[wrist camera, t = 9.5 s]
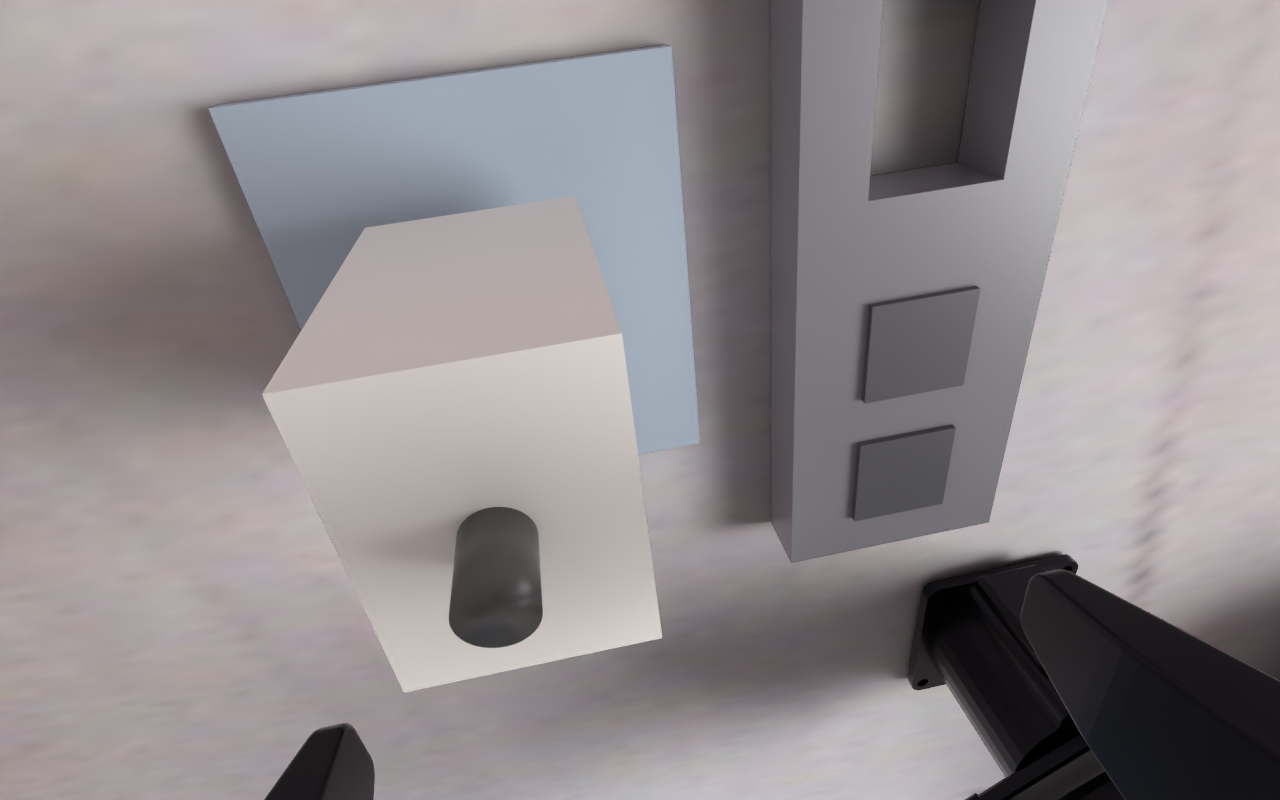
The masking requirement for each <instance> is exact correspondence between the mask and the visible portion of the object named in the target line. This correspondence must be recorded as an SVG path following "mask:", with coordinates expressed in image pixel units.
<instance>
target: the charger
mask: <svg viewBox="0 0 1280 800" xmlns="http://www.w3.org/2000/svg"><path fill="white" fill-rule="evenodd" d="M262 396H263V399H264V401H265V403H266V405H267V407H268V409H269V411H270V413H271V415H272V417H273V419H274V422H275V424H276V426H277V428H278V430H279V432H280V434H281V436H282V438H283V440H284V442H285V445H286V447H287V449H288V451H289V453H290V455H291V457H292V459H293V461H294V463H295V466H296V468H297V470H298V472H299V474H300V476H301V478H302V480H303V482H304V484H305V486H306V489H307V491H308V493H309V495H310V497H311V499H312V501H313V503H314V505H315V507H316V509H317V512H318V514H319V516H320V518H321V520H322V522H323V524H324V526H325V528H326V530H327V533H328V535H329V537H330V539H331V541H332V543H333V545H334V547H335V549H336V551H337V553H338V556H339V558H340V560H341V562H342V564H343V566H344V568H345V570H346V572H347V574H348V576H349V579H350V581H351V583H352V585H353V587H354V589H355V591H356V593H357V595H358V597H359V599H360V602H361V604H362V606H363V608H364V610H365V612H366V614H367V616H368V618H369V620H370V623H371V625H372V627H373V629H374V631H375V633H376V635H377V637H378V639H379V641H380V643H381V646H382V648H383V650H384V652H385V654H386V656H387V658H388V660H389V662H390V664H391V666H392V669H393V671H394V673H395V675H396V677H397V679H398V681H399V683H400V685H401V687H402V690H403V692H404V693H405V692H410V691H415V690H420V689H424V688H429V687H434V686H438V685H443V684H448V683H453V682H457V681H462V680H467V679H472V678H476V677H481V676H486V675H490V674H495V673H500V672H505V671H509V670H514V669H519V668H524V667H528V666H533V665H538V664H542V663H547V662H552V661H557V660H561V659H566V658H571V657H576V656H580V655H585V654H590V653H594V652H599V651H604V650H609V649H613V648H618V647H623V646H628V645H632V644H637V643H642V642H646V641H651V640H656V639H661V638H662V631H661V623H660V616H659V608H658V601H657V593H656V586H655V578H654V571H653V563H652V555H651V548H650V540H649V533H648V525H647V518H646V510H645V503H644V495H643V487H642V480H641V472H640V465H639V457H638V450H637V442H636V435H635V427H634V419H633V412H632V404H631V397H630V389H629V382H628V374H627V367H626V359H625V351H624V344H623V336H622V332H621V329H620V326H619V323H618V320H617V317H616V314H615V311H614V308H613V305H612V302H611V299H610V296H609V293H608V290H607V287H606V284H605V281H604V278H603V275H602V272H601V269H600V266H599V263H598V260H597V257H596V254H595V251H594V248H593V245H592V242H591V239H590V237H589V234H588V231H587V228H586V225H585V222H584V219H583V216H582V213H581V210H580V207H579V204H578V201H577V198H576V196H571V197H565V198H558V199H551V200H545V201H538V202H531V203H525V204H518V205H512V206H505V207H498V208H492V209H485V210H479V211H472V212H465V213H459V214H452V215H445V216H439V217H432V218H426V219H419V220H412V221H406V222H399V223H393V224H386V225H379V226H373V227H366V228H364V230H363V232H362V233H361V235H360V237H359V238H358V240H357V241H356V243H355V245H354V246H353V248H352V249H351V251H350V253H349V254H348V256H347V258H346V259H345V261H344V262H343V264H342V266H341V267H340V269H339V270H338V272H337V274H336V275H335V277H334V279H333V280H332V282H331V283H330V285H329V287H328V288H327V290H326V291H325V293H324V295H323V296H322V298H321V300H320V301H319V303H318V304H317V306H316V308H315V309H314V311H313V312H312V314H311V316H310V317H309V319H308V321H307V322H306V324H305V325H304V327H303V329H302V330H301V332H300V333H299V335H298V337H297V338H296V340H295V342H294V343H293V345H292V346H291V348H290V350H289V351H288V353H287V354H286V356H285V358H284V359H283V361H282V363H281V364H280V366H279V367H278V369H277V371H276V372H275V374H274V375H273V377H272V379H271V380H270V382H269V384H268V385H267V387H266V388H265V390H264V392H263V393H262Z"/></svg>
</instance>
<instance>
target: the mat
mask: <svg viewBox="0 0 1280 800" xmlns="http://www.w3.org/2000/svg"><path fill="white" fill-rule="evenodd" d="M208 109H209V112H210V114H211V117H212V119H213V121H214V124H215V126H216V129H217V131H218V133H219V136H220V138H221V141H222V143H223V145H224V148H225V150H226V153H227V155H228V157H229V160H230V162H231V165H232V167H233V169H234V172H235V174H236V177H237V179H238V181H239V184H240V186H241V189H242V191H243V193H244V196H245V198H246V200H247V203H248V205H249V208H250V210H251V212H252V215H253V217H254V220H255V222H256V224H257V227H258V229H259V232H260V234H261V236H262V239H263V241H264V244H265V246H266V248H267V251H268V253H269V256H270V258H271V260H272V263H273V265H274V268H275V270H276V272H277V275H278V277H279V280H280V282H281V284H282V287H283V289H284V291H285V294H286V296H287V299H288V301H289V303H290V306H291V308H292V311H293V313H294V315H295V318H296V320H297V323H298V325H299V327H300V330H302V329H303V327H304V325H305V324H306V322H307V321H308V319H309V317H310V316H311V314H312V312H313V311H314V309H315V308H316V306H317V304H318V303H319V301H320V300H321V298H322V296H323V295H324V293H325V291H326V290H327V288H328V287H329V285H330V283H331V282H332V280H333V279H334V277H335V275H336V274H337V272H338V270H339V269H340V267H341V266H342V264H343V262H344V261H345V259H346V258H347V256H348V254H349V253H350V251H351V249H352V248H353V246H354V245H355V243H356V241H357V240H358V238H359V237H360V235H361V233H362V232H363V230H364V228H366V227H373V226H379V225H386V224H393V223H399V222H406V221H412V220H419V219H426V218H432V217H439V216H445V215H452V214H459V213H465V212H472V211H479V210H485V209H492V208H498V207H505V206H512V205H518V204H525V203H531V202H538V201H545V200H551V199H558V198H565V197H571V196H576V198H577V201H578V204H579V207H580V210H581V213H582V216H583V219H584V222H585V225H586V228H587V231H588V234H589V237H590V239H591V242H592V245H593V248H594V251H595V254H596V257H597V260H598V263H599V266H600V269H601V272H602V275H603V278H604V281H605V284H606V287H607V290H608V293H609V296H610V299H611V302H612V305H613V308H614V311H615V314H616V317H617V320H618V323H619V326H620V329H621V332H622V336H623V344H624V351H625V359H626V367H627V374H628V382H629V389H630V397H631V404H632V412H633V419H634V427H635V435H636V442H637V450H638V455H641V454H646V453H651V452H657V451H662V450H667V449H673V448H678V447H683V446H689V445H694V444H699V443H700V436H699V422H698V408H697V394H696V380H695V366H694V352H693V338H692V324H691V310H690V296H689V282H688V268H687V254H686V240H685V226H684V212H683V198H682V185H681V171H680V157H679V143H678V129H677V115H676V101H675V87H674V73H673V59H672V46H669V45H659V46H651V47H644V48H636V49H629V50H622V51H614V52H607V53H599V54H592V55H584V56H577V57H569V58H562V59H555V60H547V61H540V62H532V63H525V64H517V65H510V66H503V67H495V68H488V69H480V70H473V71H465V72H458V73H450V74H443V75H436V76H428V77H421V78H413V79H406V80H398V81H391V82H383V83H376V84H369V85H361V86H354V87H346V88H339V89H331V90H324V91H316V92H309V93H302V94H294V95H287V96H279V97H272V98H264V99H257V100H249V101H242V102H235V103H227V104H220V105H216V106H214V107H211V108H208Z"/></svg>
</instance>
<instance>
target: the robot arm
mask: <svg viewBox="0 0 1280 800" xmlns="http://www.w3.org/2000/svg"><path fill="white" fill-rule="evenodd" d="M1077 569H1078V564H1077V563H1076V562H1075V561H1074V560H1073V559H1072V558H1071V557H1070V556H1069V555H1059V556H1054V557H1049V558H1045V559H1040V560H1035V561H1031V562H1026V563H1021V564H1017V565H1012V566H1007V567H1002V568H998V569H993V570H988V571H984V572H979V573H974V574H970V575H965V576H960V577H955V578H951V579H946V580H941V581H937V582H933V583H931V584H929V585H927V586H926V587H925V588H924V590H923V592H922V596H921V602H920V608H919V614H918V620H917V626H916V631H915V637H914V643H913V649H912V655H911V660H910V666H909V672H908V681H909V683H910V684H911V686H912V688H913V689H915V690H922V689H927V688H931V687H935V686H940V685H944V684H947V686H948V687H949V689H950V691H951V692H952V694H953V695H954V697H955V698H956V700H957V702H958V703H959V705H960V706H961V708H962V709H963V711H964V713H965V714H966V716H967V717H968V719H969V720H970V722H971V724H972V725H973V727H974V728H975V730H976V731H977V733H978V735H979V736H980V738H981V739H982V741H983V742H984V744H985V746H986V747H987V749H988V750H989V752H990V753H991V755H992V757H993V758H994V760H995V761H996V763H997V764H998V766H999V768H1000V769H1001V771H1002V772H1003V774H1004V775H1005V777H1006V778H1004V779H1003V780H1001V781H1000V782H998V783H996V784H995V785H993V786H992V787H990V788H988V789H987V790H985V791H984V792H982V793H980V794H979V795H978V794H976V793H975V794H973V795H972V796H970V797H968V798H967V799H965V800H1280V680H1278V679H1276V678H1274V677H1272V676H1270V675H1268V674H1266V673H1264V672H1262V671H1261V670H1259V669H1257V668H1255V667H1253V666H1251V665H1249V664H1247V663H1245V662H1243V661H1241V660H1239V659H1237V658H1236V657H1234V656H1232V655H1230V654H1228V653H1226V652H1224V651H1222V650H1220V649H1218V648H1216V647H1214V646H1212V645H1210V644H1209V643H1207V642H1205V641H1203V640H1201V639H1199V638H1197V637H1195V636H1193V635H1191V634H1189V633H1187V632H1185V631H1184V630H1182V629H1180V628H1178V627H1176V626H1174V625H1172V624H1170V623H1168V622H1166V621H1164V620H1162V619H1160V618H1158V617H1157V616H1155V615H1153V614H1151V613H1149V612H1147V611H1145V610H1143V609H1141V608H1139V607H1137V606H1135V605H1133V604H1132V603H1130V602H1128V601H1126V600H1124V599H1122V598H1120V597H1118V596H1116V595H1114V594H1112V593H1110V592H1108V591H1106V590H1105V589H1103V588H1101V587H1099V586H1097V585H1095V584H1093V583H1091V582H1089V581H1087V580H1085V579H1083V578H1081V577H1080V576H1078V575H1076V572H1077ZM374 780H375V774H374V765H373V761H372V758H371V756H370V754H369V753H368V751H367V749H366V748H365V746H364V744H363V742H362V741H361V739H360V737H359V736H358V734H357V732H356V730H355V729H354V727H353V726H352V725H350V724H348V723H342V724H338V725H333V726H328V727H324V728H320V729H318V730H316V731H315V732H314V733H312V734H311V735H310V737H309V738H308V739H307V741H306V742H305V743H304V745H303V746H302V748H301V749H300V750H299V752H298V753H297V755H296V756H295V757H294V759H293V760H292V762H291V763H290V764H289V766H288V767H287V769H286V770H285V771H284V773H283V774H282V776H281V777H280V778H279V780H278V781H277V783H276V784H275V785H274V787H273V788H272V790H271V791H270V792H269V794H268V795H267V797H266V798H265V799H264V800H373V799H374Z"/></svg>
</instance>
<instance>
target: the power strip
mask: <svg viewBox="0 0 1280 800" xmlns="http://www.w3.org/2000/svg"><path fill="white" fill-rule="evenodd" d="M1107 4H1108V0H981V1H980V8H979V15H978V22H977V29H976V36H975V43H974V50H973V57H972V64H971V71H970V78H969V85H968V93H967V100H966V107H965V114H964V121H963V128H962V135H961V142H960V149H959V156H958V162H957V163H951V164H945V165H938V166H932V167H925V168H919V169H913V170H906V171H900V172H893V173H887V174H880V175H874V176H870V171H871V157H872V144H873V131H874V118H875V104H876V91H877V78H878V65H879V51H880V38H881V25H882V12H883V0H770V49H771V523H772V525H773V527H774V529H775V531H776V533H777V535H778V537H779V539H780V541H781V543H782V545H783V547H784V549H785V551H786V553H787V555H788V557H789V559H790V561H791V563H793V562H798V561H803V560H808V559H812V558H817V557H822V556H827V555H832V554H837V553H842V552H846V551H851V550H856V549H861V548H866V547H871V546H876V545H880V544H885V543H890V542H895V541H900V540H905V539H910V538H914V537H919V536H924V535H929V534H934V533H939V532H943V531H948V530H953V529H958V528H963V527H968V526H973V525H977V524H982V523H987V522H989V518H990V514H991V510H992V505H993V501H994V497H995V492H996V488H997V484H998V479H999V475H1000V471H1001V466H1002V462H1003V457H1004V453H1005V449H1006V444H1007V440H1008V436H1009V431H1010V427H1011V423H1012V418H1013V414H1014V410H1015V405H1016V401H1017V396H1018V392H1019V388H1020V383H1021V379H1022V375H1023V370H1024V366H1025V362H1026V357H1027V353H1028V349H1029V344H1030V340H1031V335H1032V331H1033V327H1034V322H1035V318H1036V314H1037V309H1038V305H1039V301H1040V296H1041V292H1042V288H1043V283H1044V279H1045V274H1046V270H1047V266H1048V261H1049V257H1050V253H1051V248H1052V244H1053V240H1054V235H1055V231H1056V227H1057V222H1058V218H1059V213H1060V209H1061V205H1062V200H1063V196H1064V192H1065V187H1066V183H1067V179H1068V174H1069V170H1070V166H1071V161H1072V157H1073V152H1074V148H1075V144H1076V139H1077V135H1078V131H1079V126H1080V122H1081V118H1082V113H1083V109H1084V105H1085V100H1086V96H1087V91H1088V87H1089V83H1090V78H1091V74H1092V70H1093V65H1094V61H1095V57H1096V52H1097V48H1098V44H1099V39H1100V35H1101V30H1102V26H1103V22H1104V17H1105V13H1106V9H1107Z"/></svg>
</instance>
